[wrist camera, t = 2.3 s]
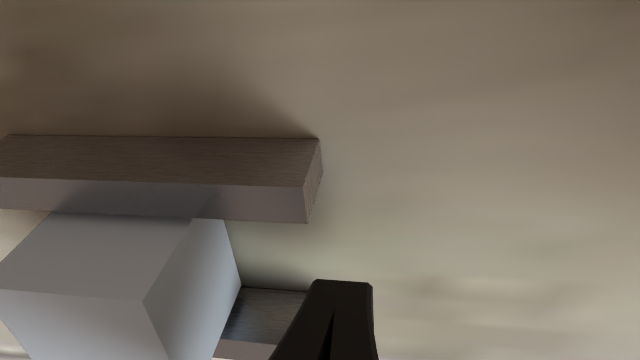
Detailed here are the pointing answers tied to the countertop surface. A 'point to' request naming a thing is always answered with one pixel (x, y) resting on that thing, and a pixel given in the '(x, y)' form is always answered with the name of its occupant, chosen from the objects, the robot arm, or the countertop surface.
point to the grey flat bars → (177, 198)
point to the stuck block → (119, 287)
